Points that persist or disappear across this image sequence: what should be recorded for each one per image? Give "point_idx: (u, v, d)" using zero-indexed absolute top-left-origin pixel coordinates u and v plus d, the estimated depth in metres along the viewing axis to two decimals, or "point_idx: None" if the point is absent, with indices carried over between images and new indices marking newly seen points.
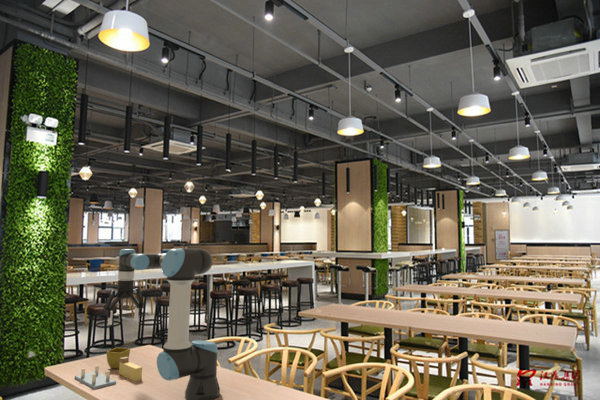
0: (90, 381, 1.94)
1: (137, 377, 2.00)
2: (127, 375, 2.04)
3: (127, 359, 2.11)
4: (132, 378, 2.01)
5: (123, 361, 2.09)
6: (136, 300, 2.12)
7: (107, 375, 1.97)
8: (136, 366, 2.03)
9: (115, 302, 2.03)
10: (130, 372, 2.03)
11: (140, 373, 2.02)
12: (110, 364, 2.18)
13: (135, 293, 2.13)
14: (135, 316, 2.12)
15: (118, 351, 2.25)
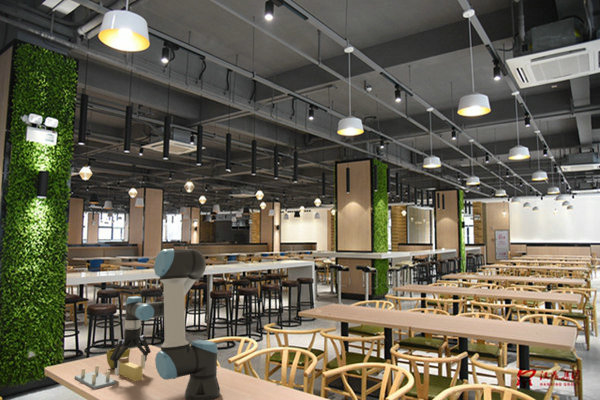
0: (90, 381, 1.94)
1: (137, 377, 2.00)
2: (127, 375, 2.04)
3: (127, 359, 2.11)
4: (132, 378, 2.01)
5: (123, 361, 2.09)
6: (143, 348, 2.11)
7: (107, 375, 1.97)
8: (136, 366, 2.03)
9: (122, 352, 2.02)
10: (130, 372, 2.02)
11: (140, 373, 2.02)
12: (110, 364, 2.18)
13: (142, 340, 2.12)
14: (142, 364, 2.11)
15: None
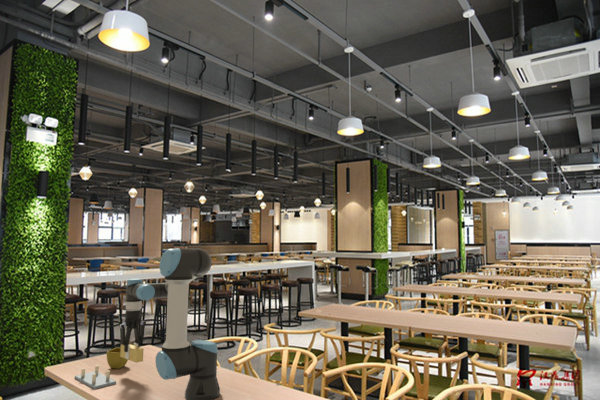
0: (90, 381, 1.94)
1: (138, 358, 2.01)
2: None
3: None
4: (133, 359, 2.01)
5: None
6: (139, 334, 2.09)
7: (107, 375, 1.97)
8: (137, 348, 2.04)
9: (128, 335, 2.05)
10: (131, 353, 2.03)
11: (141, 354, 2.02)
12: (110, 364, 2.18)
13: (140, 325, 2.12)
14: None
15: (118, 351, 2.25)
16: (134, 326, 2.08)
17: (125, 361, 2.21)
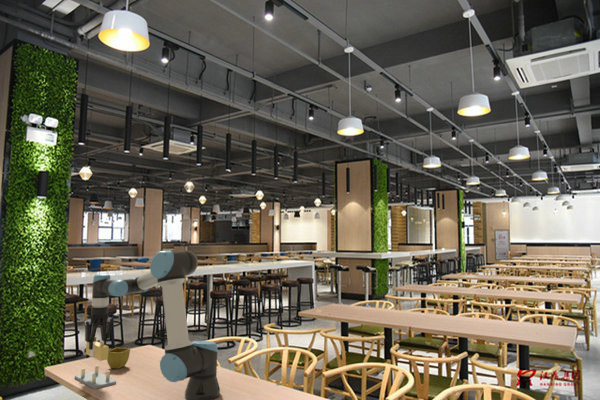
0: (90, 381, 1.94)
1: (103, 357, 1.94)
2: None
3: (95, 338, 2.05)
4: (98, 357, 1.95)
5: None
6: None
7: (107, 375, 1.97)
8: (102, 345, 1.98)
9: (93, 332, 1.98)
10: (96, 351, 1.97)
11: (106, 352, 1.96)
12: (110, 364, 2.18)
13: (107, 322, 2.05)
14: None
15: (118, 351, 2.25)
16: (100, 323, 2.01)
17: (125, 361, 2.21)
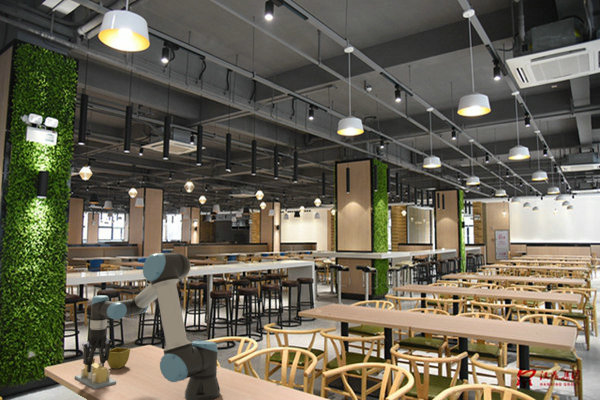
0: (90, 381, 1.94)
1: (101, 379, 1.93)
2: None
3: (93, 360, 2.04)
4: (96, 379, 1.94)
5: None
6: (103, 353, 2.01)
7: (107, 375, 1.97)
8: (101, 367, 1.96)
9: (92, 355, 1.97)
10: (94, 373, 1.96)
11: (105, 374, 1.95)
12: (110, 364, 2.18)
13: (106, 344, 2.04)
14: None
15: (118, 351, 2.25)
16: (98, 345, 2.00)
17: (125, 361, 2.21)
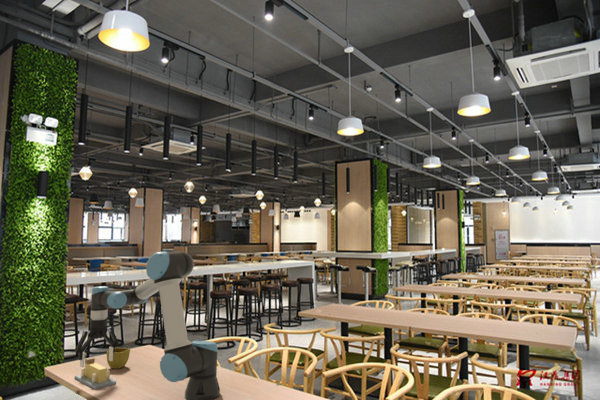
0: (90, 381, 1.94)
1: (101, 379, 1.93)
2: None
3: (93, 360, 2.04)
4: (96, 379, 1.94)
5: (88, 362, 2.02)
6: (110, 339, 2.04)
7: (107, 375, 1.97)
8: (101, 367, 1.96)
9: (87, 343, 1.96)
10: (94, 373, 1.96)
11: (105, 374, 1.95)
12: (110, 364, 2.18)
13: (109, 332, 2.06)
14: (110, 356, 2.04)
15: (118, 351, 2.25)
16: (99, 336, 2.00)
17: (125, 361, 2.21)
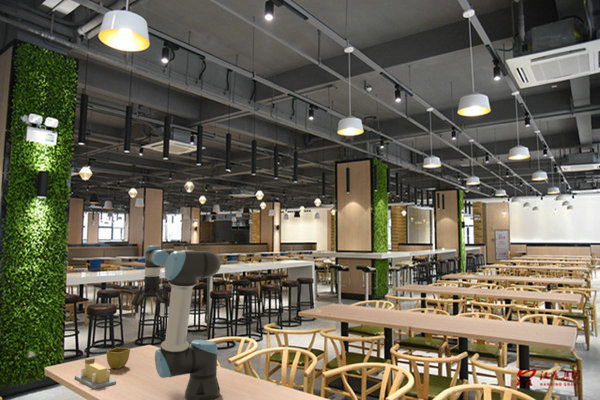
0: (90, 381, 1.94)
1: (101, 379, 1.93)
2: None
3: (93, 360, 2.04)
4: (96, 379, 1.94)
5: (88, 362, 2.02)
6: (162, 296, 2.15)
7: (107, 375, 1.97)
8: (101, 367, 1.96)
9: (142, 298, 2.07)
10: (94, 373, 1.96)
11: (105, 374, 1.95)
12: (110, 364, 2.18)
13: (161, 289, 2.17)
14: (161, 312, 2.16)
15: (118, 351, 2.25)
16: (153, 292, 2.11)
17: (125, 361, 2.21)
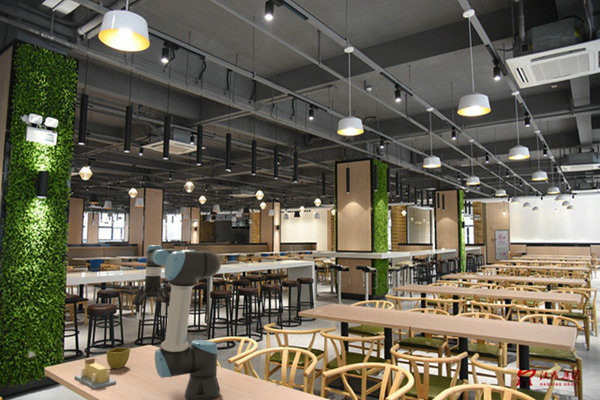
0: (90, 381, 1.94)
1: (101, 379, 1.93)
2: None
3: (93, 360, 2.04)
4: (96, 379, 1.94)
5: (88, 362, 2.02)
6: None
7: (107, 375, 1.97)
8: (101, 367, 1.96)
9: (143, 297, 2.07)
10: (94, 373, 1.96)
11: (105, 374, 1.95)
12: (110, 364, 2.18)
13: (162, 288, 2.17)
14: (162, 311, 2.16)
15: (118, 351, 2.25)
16: (154, 291, 2.12)
17: (125, 361, 2.21)
